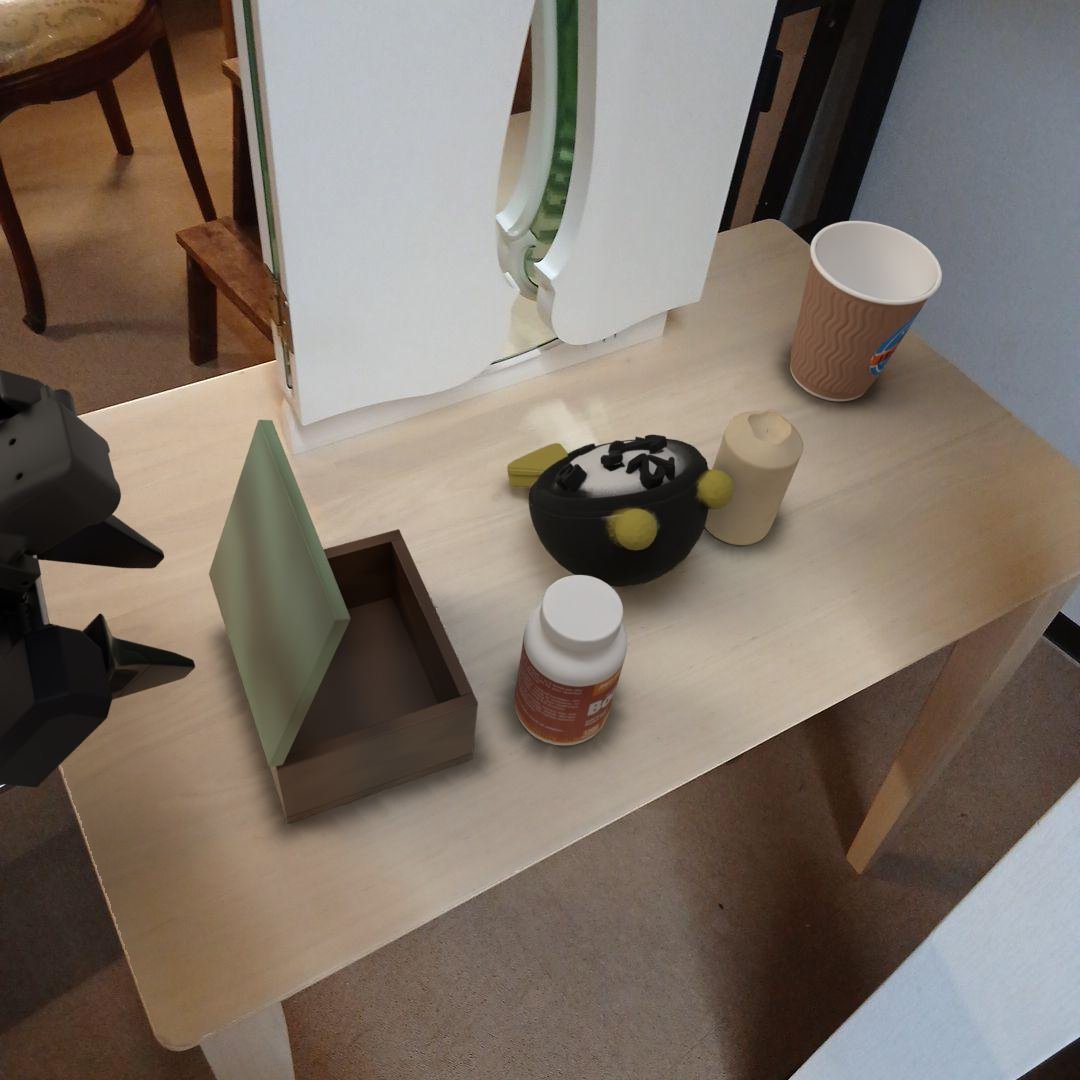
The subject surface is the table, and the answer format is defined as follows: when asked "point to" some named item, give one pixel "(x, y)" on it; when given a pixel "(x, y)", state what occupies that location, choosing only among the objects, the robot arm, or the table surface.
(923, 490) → the table surface
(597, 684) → the pill bottle
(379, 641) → the chest
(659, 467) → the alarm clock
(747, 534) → the candle
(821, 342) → the coffee cup
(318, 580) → the lid
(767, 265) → the table surface
